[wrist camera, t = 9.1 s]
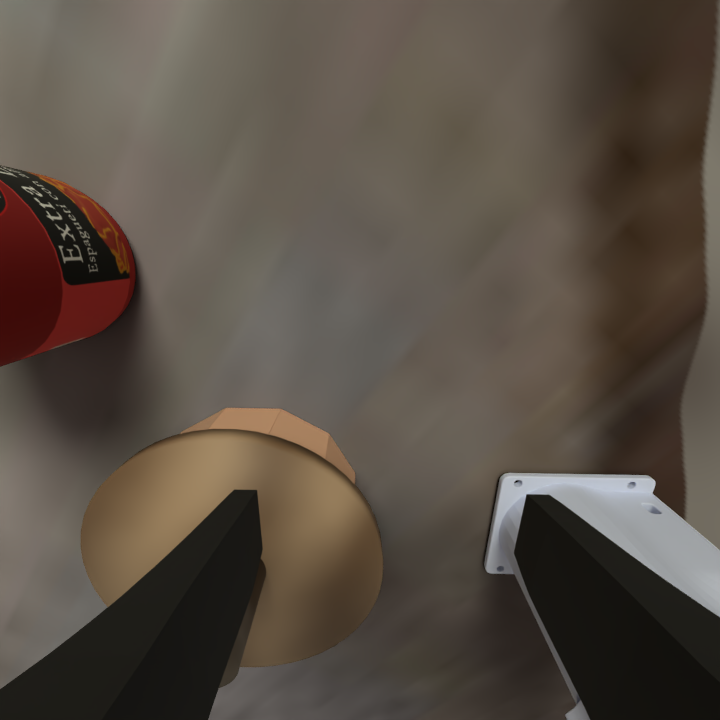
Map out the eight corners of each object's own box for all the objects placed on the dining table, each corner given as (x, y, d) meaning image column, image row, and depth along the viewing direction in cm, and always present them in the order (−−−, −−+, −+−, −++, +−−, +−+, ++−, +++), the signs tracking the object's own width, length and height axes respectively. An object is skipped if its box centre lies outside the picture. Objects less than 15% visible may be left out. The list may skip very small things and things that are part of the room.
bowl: (356, 410, 19) (355, 449, 16) (353, 564, 23) (352, 625, 19) (150, 406, 19) (99, 444, 16) (181, 561, 23) (146, 622, 19)
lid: (413, 459, 16) (436, 550, 11) (351, 662, 21) (348, 787, 16) (89, 401, 15) (-38, 472, 10) (101, 628, 20) (18, 749, 15)
